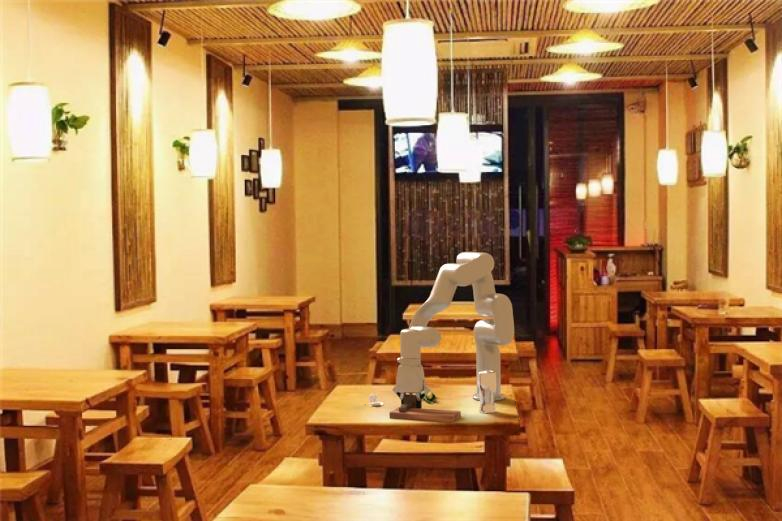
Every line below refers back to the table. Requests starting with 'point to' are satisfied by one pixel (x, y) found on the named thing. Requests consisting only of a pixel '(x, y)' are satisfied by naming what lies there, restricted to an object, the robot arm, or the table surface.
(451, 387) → the table surface
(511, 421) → the table surface
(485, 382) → the beer glass
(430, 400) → the edible corn
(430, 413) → the board
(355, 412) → the table surface
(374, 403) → the teacup and saucer
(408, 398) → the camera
